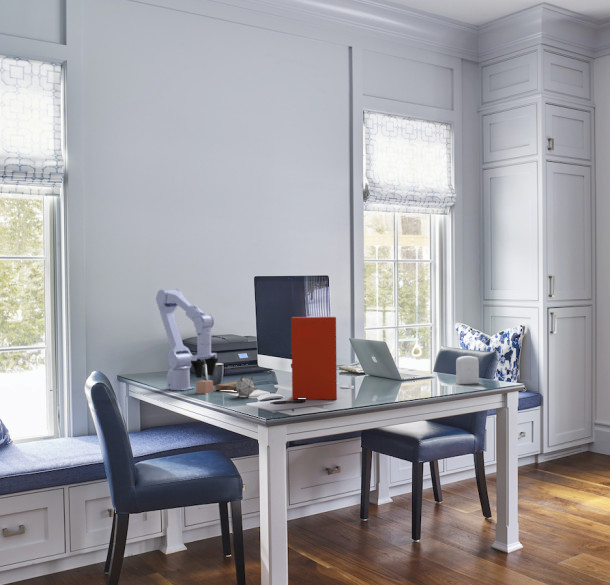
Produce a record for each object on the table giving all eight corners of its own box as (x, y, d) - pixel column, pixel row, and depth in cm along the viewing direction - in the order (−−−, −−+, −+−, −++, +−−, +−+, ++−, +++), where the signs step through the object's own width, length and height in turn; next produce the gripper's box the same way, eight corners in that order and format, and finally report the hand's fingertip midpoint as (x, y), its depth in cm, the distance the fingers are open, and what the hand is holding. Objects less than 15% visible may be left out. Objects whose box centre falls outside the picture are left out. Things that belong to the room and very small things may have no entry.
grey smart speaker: (458, 384, 321) (458, 356, 320) (454, 383, 325) (454, 355, 325) (480, 383, 322) (480, 356, 322) (476, 382, 327) (476, 355, 326)
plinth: (215, 390, 309) (215, 385, 309) (232, 387, 319) (232, 381, 319) (238, 392, 303) (238, 386, 303) (254, 389, 313) (254, 383, 313)
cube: (196, 393, 303) (196, 381, 303) (203, 391, 308) (203, 379, 308) (205, 394, 301) (205, 382, 301) (213, 392, 305) (213, 380, 305)
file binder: (292, 396, 291) (291, 316, 291) (335, 396, 291) (334, 316, 291) (292, 400, 283) (291, 317, 282) (336, 399, 283) (336, 317, 283)
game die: (250, 406, 292) (265, 386, 292) (238, 401, 286) (253, 381, 285) (237, 393, 298) (251, 373, 297) (225, 388, 291) (240, 368, 291)
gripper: (200, 345, 296) (201, 379, 296) (222, 342, 308) (222, 374, 308) (187, 345, 299) (187, 378, 299) (209, 342, 312) (209, 374, 312)
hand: (204, 376), depth 304 cm, fingers open, 7 cm apart
